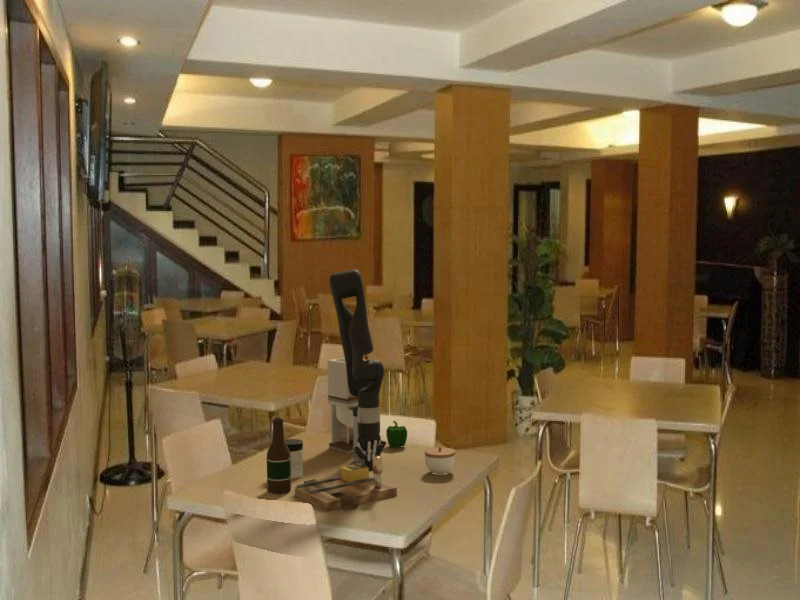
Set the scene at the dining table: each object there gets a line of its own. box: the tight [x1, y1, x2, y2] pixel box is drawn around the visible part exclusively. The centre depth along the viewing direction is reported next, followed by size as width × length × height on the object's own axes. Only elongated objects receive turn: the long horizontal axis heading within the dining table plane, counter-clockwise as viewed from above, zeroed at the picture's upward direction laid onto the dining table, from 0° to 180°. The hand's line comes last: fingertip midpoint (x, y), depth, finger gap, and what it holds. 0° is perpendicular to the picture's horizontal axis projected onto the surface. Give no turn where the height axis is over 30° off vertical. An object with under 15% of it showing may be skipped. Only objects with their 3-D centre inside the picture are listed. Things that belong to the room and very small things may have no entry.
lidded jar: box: [424, 445, 456, 474], centre depth 297 cm, size 11×11×9 cm
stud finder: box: [340, 462, 370, 482], centre depth 281 cm, size 7×6×4 cm
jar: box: [284, 438, 304, 480], centre depth 295 cm, size 9×8×12 cm
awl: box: [372, 455, 383, 489], centre depth 271 cm, size 3×3×10 cm
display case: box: [327, 357, 367, 454], centre depth 332 cm, size 11×11×35 cm
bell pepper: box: [385, 420, 408, 448], centre depth 335 cm, size 8×8×10 cm
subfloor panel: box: [294, 475, 398, 512], centre depth 272 cm, size 26×26×3 cm
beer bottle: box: [266, 417, 292, 495], centre depth 277 cm, size 8×8×24 cm
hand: (369, 471), depth 284 cm, fingers closed
